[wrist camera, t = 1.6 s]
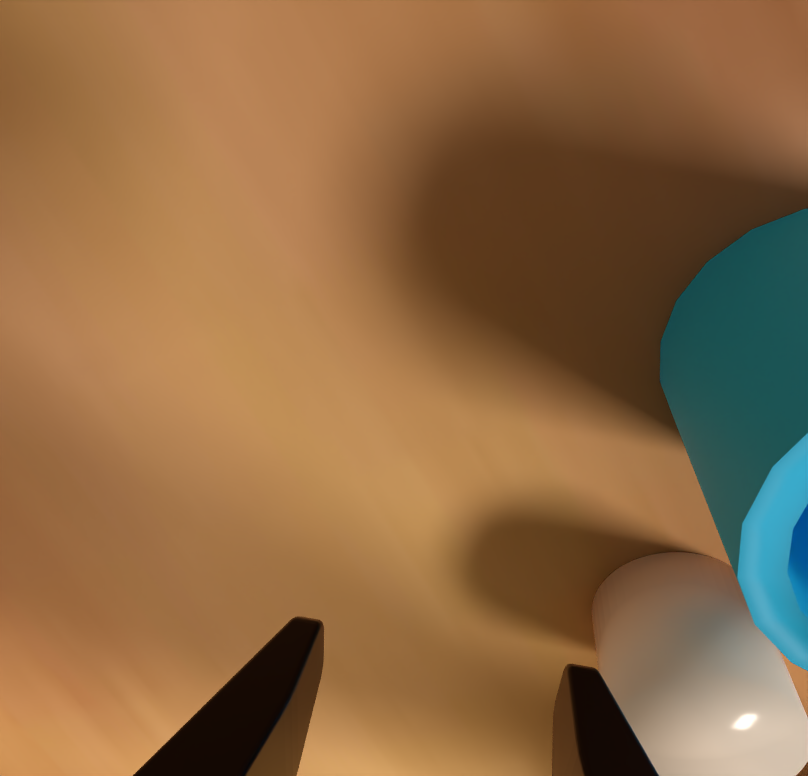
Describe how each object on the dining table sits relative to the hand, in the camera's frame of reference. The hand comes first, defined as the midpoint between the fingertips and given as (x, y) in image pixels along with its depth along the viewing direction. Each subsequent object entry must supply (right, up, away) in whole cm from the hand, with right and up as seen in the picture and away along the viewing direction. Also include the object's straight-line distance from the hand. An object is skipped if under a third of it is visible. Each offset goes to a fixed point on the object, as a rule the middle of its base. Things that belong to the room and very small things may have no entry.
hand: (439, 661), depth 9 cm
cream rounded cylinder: (+9, -4, +14) cm, 18 cm away
